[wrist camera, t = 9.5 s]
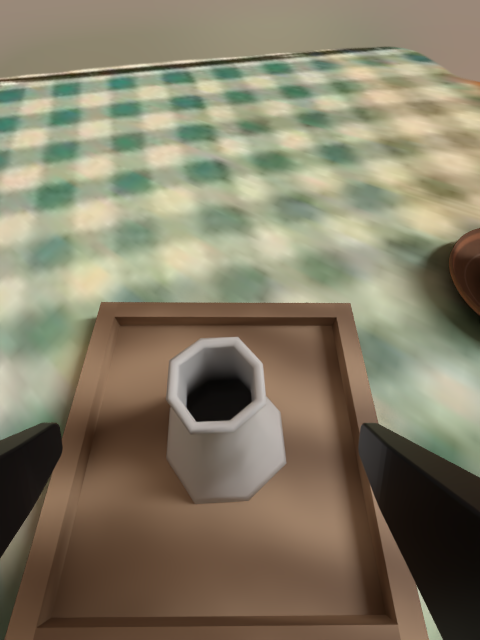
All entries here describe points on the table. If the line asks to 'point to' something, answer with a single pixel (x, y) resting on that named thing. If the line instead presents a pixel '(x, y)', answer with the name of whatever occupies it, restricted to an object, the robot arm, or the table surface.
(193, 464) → the flask
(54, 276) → the table surface
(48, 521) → the walnut tray
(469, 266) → the cup and saucer
